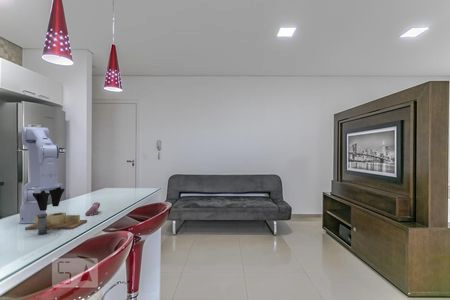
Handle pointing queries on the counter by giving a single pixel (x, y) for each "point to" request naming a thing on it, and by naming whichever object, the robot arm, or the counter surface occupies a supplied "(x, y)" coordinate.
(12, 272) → the counter surface
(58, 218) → the hinge
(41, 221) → the hinge pin
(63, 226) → the hinge board
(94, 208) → the mauve lumpy piece
